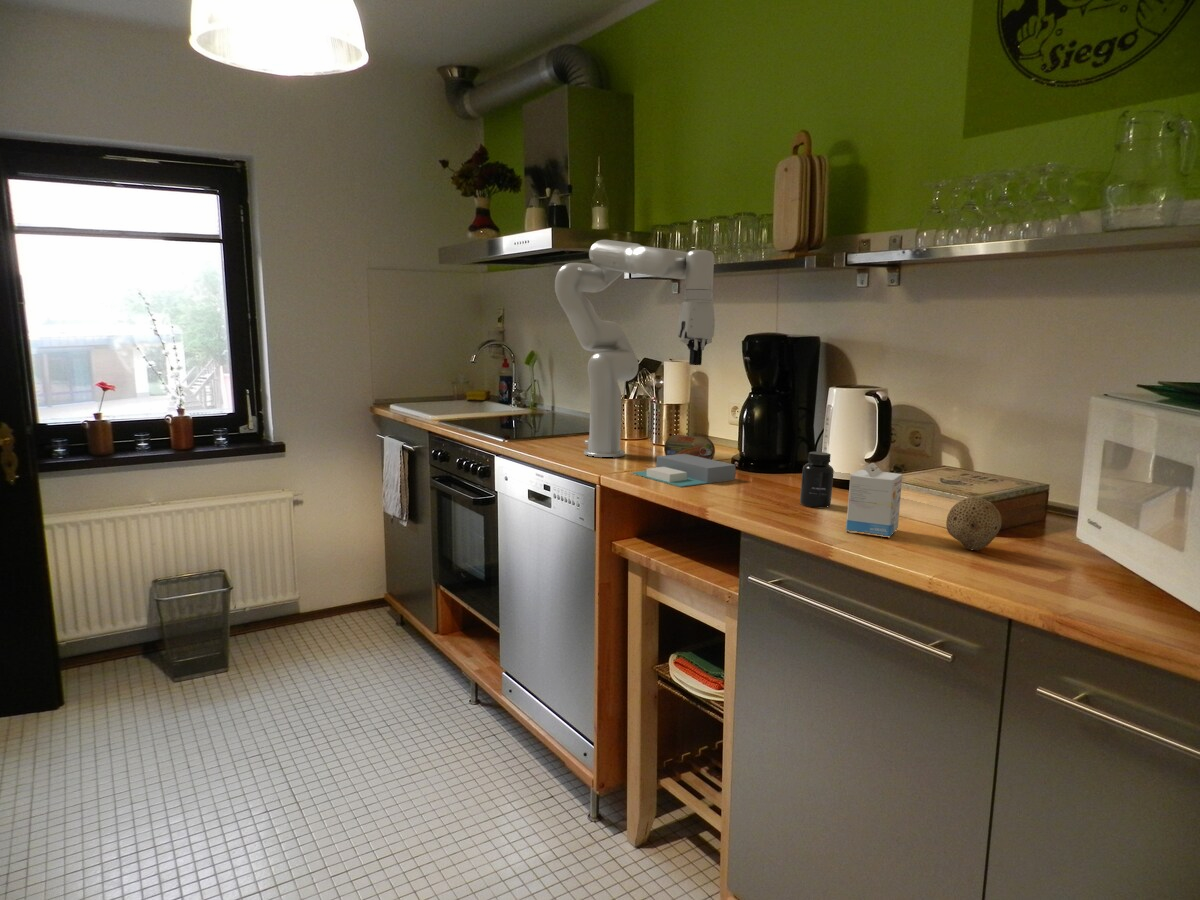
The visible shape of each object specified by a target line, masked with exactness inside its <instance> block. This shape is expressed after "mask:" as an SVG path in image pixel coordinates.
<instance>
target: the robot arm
mask: <svg viewBox="0 0 1200 900" xmlns="http://www.w3.org/2000/svg"><path fill="white" fill-rule="evenodd" d="M588 250H589V251H588V257H589V260H590V262H591V263H592V264H591V263H585V262H569V263H565V264H564V265H562V266H561V267H560V268H559V269H558V271H557V273H556V276H555V280H554V292H555V295H556V298H557V300H558V303H559V305H560V306H561V308H562V310H563V311H564V313H565V315H566V316H567V319H568V322H569V323H570V326H571V327H572V330H573V331H574V333H575V336H576V338H577V341H578V343H579V344H580V346H581V347H582V348H583V350H584V351H588V352H595V353H594V354H593V355H591V357H590V358H589V360H588V363H587V375H588V381H589V390H590V391H589V393H590V394H589V432H588V433H589V438H587V439H585V440H584V445H587V448H586V449H584V450H583V454H584V455H585V456H587V455H588V457H592V456H594V458H602V457H613V458H621V457H624V456H625V455H626V451H625V450H624V449H621V435H622V434H621V431H622V430H621V429H622V393H621V388H620V386H619V383H620V382H621V383H622V382H628V381H631V380H633V379H634V378H635V377H636V376H637V374H638V372H639V360H638V358H637V355H636V353H635V351H634V348H633V346H631V342H630V341H629V338H628V337H627V334H626V333H625V331H624V329H623V328H622V327H621V326H620V325H619V324H618V323H617V322H615V321H612V320H602V319H601V318H600V317H599V315H598V314H597V312H596V310H595V307H594V305H593V304H592V302H591V301H590V300H589V299H588V298H587V296H586V295H585V294H583V292H584V293H599V292H602V291H604V290H606V289H607V288H608V287H609V286H611V284H612V283H614V282H615V281H616V280H617V279H618V278H620V276H622V275H623V274H624V273H628V274H633V275H636V274H641V275H647V276H652V277H653V276H654V277H659V278H665V279H666V278H668V279H675V280H684V301H682V302H681V305H680V310H679V313H678V323H677V337H678V338H679V339H680V343H682V344H685V345H686V346H687V349H688V351H689V365H692V366H702V360H703V358H702V357H703V351H704V350H705V347H706V345H709V344H711V343H712V342H713V340H712V338H713V337H714V334H715V324H716V323H715V321H716V320H715V319H716V318H715V306H714V302H713V299H714V297H715V294H714V293H713V292H714V291H713V290H714V289H713V287H714V270H715V269H714V267H715V266H714V265H715V255H714V253H713V251H710V250H708V249H693V250H690V251H682V250H675V249H669V248H662V247H653V246H647V245H641V244H640V243H634V242H628V241H620V240H612V239H611V240H610V239H600V240H597V241H595V242H594V243H593V244H592V245H591V246H590V249H588Z"/></svg>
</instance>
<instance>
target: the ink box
mask: <svg viewBox="0 0 1200 900" xmlns="http://www.w3.org/2000/svg"><path fill="white" fill-rule="evenodd" d="M863 468H864V469H859V470H857V471H855V472H853V473H850V474H849V489H848V490H849V491H848V498H847V499H848V500H847V501H848V502H847V513H846V525H845V527H846V528H845V529H846V530H849V531H857V532H864V533H870V534H877V535H883V536H891V535H892V533H894V532H895V530H897V528H898V529H899V521H900V519H899V518H900V517H899V516H900V506H901V495H902V494H901V493H902V485H903V484H902V483H903V473H896V472H889V471H888V472H887V471H883V470H881V468H879V466H878V465H877V464H876V463H874V462H871V463H870V464H867V465H865V466H863ZM872 469H873V470H872ZM846 530H845V531H846ZM897 531H898V530H897ZM895 533H896V532H895ZM895 533H894V534H895ZM892 536H893V535H892ZM892 536H891V537H892Z"/></svg>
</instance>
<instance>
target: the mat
mask: <svg viewBox="0 0 1200 900" xmlns="http://www.w3.org/2000/svg"><path fill="white" fill-rule="evenodd" d="M631 473H633V474H632V475H634V474H636V475H635V476H637V475H640V476H639V477H641V476H643V477H642V478H645V477H646V478H645V479H648V478H649V480H652V481H656V482H660V483H663V482H664V484H667V483H668V484H669V485H671V486H674V487H678V488H686V486H687V487H693V486H700V485H707V482H703V481H699V480H695V479H691V478H687V480H682V481H675V482H667V481H663V480H659V479H655V478H651V477H648V476H647V470H642V471H641V470H640V471H634V472H633V471H632V472H631ZM668 484H667V485H668Z"/></svg>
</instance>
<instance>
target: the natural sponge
mask: <svg viewBox="0 0 1200 900" xmlns="http://www.w3.org/2000/svg"><path fill="white" fill-rule="evenodd" d="M946 516H947V517H946V520H945V521H946V522H945V523H946V526H945V527H946V530H947V533H948V534H949V535H950V536H951V537H952V538H954V539H955V540H956V541H958V542H960V543H961V544H962V545H963V546H964V547H965V549H967V548H968V549H967V550H969V549H973V550H977V551H980V550H982V549H984V548H986V547H987V546H988V545H989V544H990V543H992V541H993V540H994V539H995V538H996V536H997V535H998V533H999V532H1000V530H1001V527H1002V522H1003V521H1002V515H1001V513H1000V511H999V509H998V508H997V506H995V505H994V503H992V502H991V501H989V500H987V499H985V498H981V497H975V496H974V497H973V496H972V497H967V498H964V499H963V500H960V501H959V502H956V503H955V504H954V505H953V506H952V507H951V509H950V510H949V512H948V514H947V515H946Z"/></svg>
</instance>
